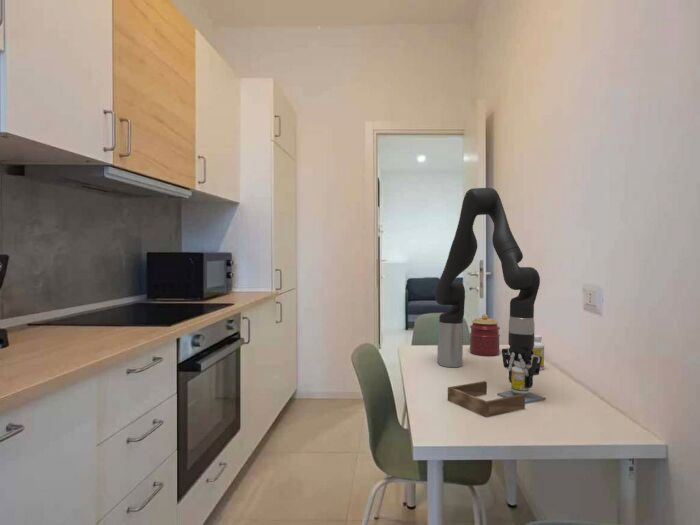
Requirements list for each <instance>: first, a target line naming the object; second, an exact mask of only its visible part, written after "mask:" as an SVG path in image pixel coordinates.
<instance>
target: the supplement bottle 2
mask: <svg viewBox="0 0 700 525" xmlns="http://www.w3.org/2000/svg"><path fill="white" fill-rule="evenodd" d="M542 339H543V337H542V335H540V334H534V347H533V353H534V355H536V356H541V357H542V361H541V366H540V371H542V370H544V369H545V368H544V367H545V344H544V342H542ZM531 360H532V359H531Z"/></svg>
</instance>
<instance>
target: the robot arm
mask: <svg viewBox="0 0 700 525" xmlns="http://www.w3.org/2000/svg"><path fill="white" fill-rule="evenodd" d="M460 209H461V210H460V213H459V220H458V223H457V227H456V231H455V235H454V237H453V241H452V242H451V246H450V250H449V252H448V256H447V259H446V262H445V266H444V268H443V271H442V272H441V275H440V278H439V280H438V283H437V284H436V287H435V292H434V297H435V298H434V299H435V302H436V303H437V304H438V305H440V306H451V308H450V309H448V310H447V311H445V312H443V313H440V314H439V320H438V322H439V327H438V328H439V331H438V333H439V335H438V336H439V337H438V339H437V359H436V360H437V364H438V365H439V366H440V367H441V366H442V367H445V368H460V367H462V366H463V352H464V351H463V349H464V347H463V344H464V341H463V340H464V339H463V337H464V336H463V334H464V331H463V330H464V325H463V324H464V317H465V316H464V315H465V304H466V303H465V300H466V289H465V286H464V284H463V283H462V282H460V281H455V280H456V278H457V277H459V275H461V274H462V273H463V272H464V271H465V270H466V269H468V268H469V267H470V266H471V265H472V263H473V261H474V259H475V256H476V253H477V250H478V240H477V238H476V235H475V232H474V224H475V220H476V217H478V216H483V215H485V216H486V215H488V216H489V217H490V218H491V221H492V222H493V231H492V239H491V240H492V247H493V249H494V251H495V253H496V255H497V257H498V258H499V260H500V265H501V270H502V277H503V280H504V283H505V285H507V286H508V288H510V289H511V290H515V291H519V293H518V295H517V296H516V297H512V298H511V299H510V301H509V320H508V345H509V346H508V347H506V348H502V349H501V355H502V363H503V367H504V368H505V369H507V371H508V380H509V383H510V384H511V376H512V367H513V366H515V365H514V360H516V361H519V362H521V365H522V368H523V369H524V371H525V375H526V376H525V388H529V389H531V388H532V387H533V386H534V385H533V384H534V382H533V381H534V376H539V375H540V371H541V370H540V366H541V361H542V357H541V356H536V355H534V353H533V347H534V335H535V318H534V316H535V301H536V299H537V296H538V292H539V289H540V283H541V278H540V274H539V272H538V270H537V269H535V267H530V266H519V263H520V262H521V261H522V260H523V258H524V256H523V252H522V250H521V248H520V246H519V244H518V243H517V240H516V238H515V237H514V234H513V232H512V229H511V228H510V224H509V221H508V218H507V215H506V212H505V209H504V205H503V203H502V199H501V197H500V195H499V193H498V191H497V190H496V189H494V188H492V187H475V188H470V189H468V190H467V191H466V192H465V195H464V196H463V200H462V205H461V208H460ZM531 359H532V360H531ZM526 364H528V365H526ZM528 369H529V370H528Z"/></svg>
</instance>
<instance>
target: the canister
mask: <svg viewBox="0 0 700 525" xmlns="http://www.w3.org/2000/svg"><path fill="white" fill-rule="evenodd" d="M471 323H472V324H471V325H469V328H470V332H469V353H471V354H472V355H475V356H481V357H495V356H499V354H500V352H501V351H500V349H501V348H500V337H501V334H500V332H499V331H500V329H501V328H500V326H499V325H498V324H499V322H498V321H497V320H496V319H494V318H491V317H490V318H489V316H488V315H487V314H486V313H484V314H482V316H481V317H477V318H474V319H473V320H472V321H471Z"/></svg>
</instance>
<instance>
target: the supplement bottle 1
mask: <svg viewBox="0 0 700 525" xmlns="http://www.w3.org/2000/svg"><path fill="white" fill-rule="evenodd" d="M514 365H515V366H513V367H512V376H511V383H510V384H511V386H510V388H511V389H510V391H511V390H512V391H513V392H515V393H520V394H526V393H529V392H530V388H525V376H526V375H525V371H524V369H523V368H522V365H521V362H519V361H516V360H514ZM526 365H528V364H526ZM528 370H529V369H528Z"/></svg>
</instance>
